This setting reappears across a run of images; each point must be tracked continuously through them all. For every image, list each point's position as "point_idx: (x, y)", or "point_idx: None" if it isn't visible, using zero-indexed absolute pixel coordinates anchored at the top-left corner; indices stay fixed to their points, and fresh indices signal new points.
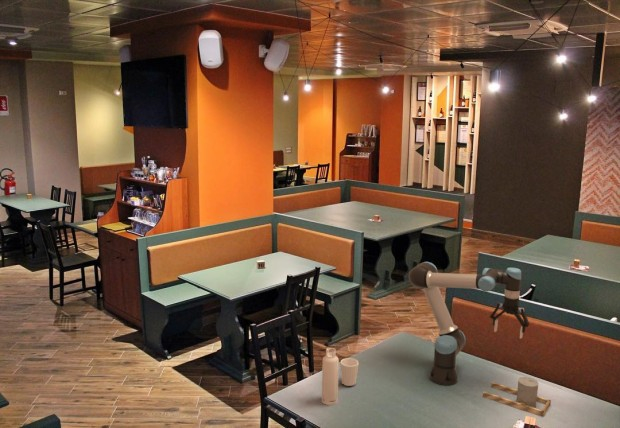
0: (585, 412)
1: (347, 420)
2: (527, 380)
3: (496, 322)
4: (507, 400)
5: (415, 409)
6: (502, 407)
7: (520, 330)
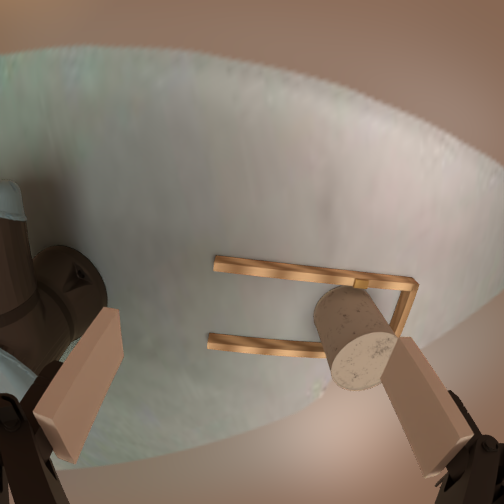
0: (483, 265)
1: (67, 466)
2: (366, 352)
3: (81, 437)
4: (290, 355)
5: (109, 434)
6: (277, 364)
7: (410, 442)
